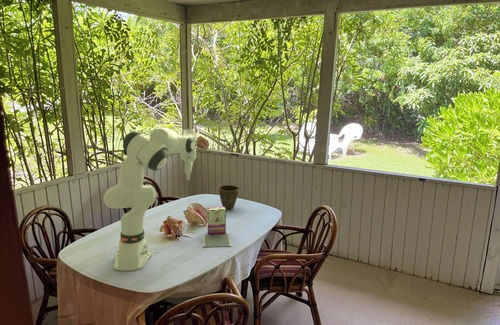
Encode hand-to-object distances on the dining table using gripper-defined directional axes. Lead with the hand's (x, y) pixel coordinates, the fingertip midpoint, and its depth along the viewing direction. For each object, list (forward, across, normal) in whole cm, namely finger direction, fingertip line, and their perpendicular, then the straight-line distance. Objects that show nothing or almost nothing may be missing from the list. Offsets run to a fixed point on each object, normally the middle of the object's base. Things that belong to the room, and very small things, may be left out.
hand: (188, 177), depth 212 cm
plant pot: (+36, +41, -27) cm, 61 cm away
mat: (+35, -14, -17) cm, 42 cm away
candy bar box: (+35, -2, -17) cm, 39 cm away
